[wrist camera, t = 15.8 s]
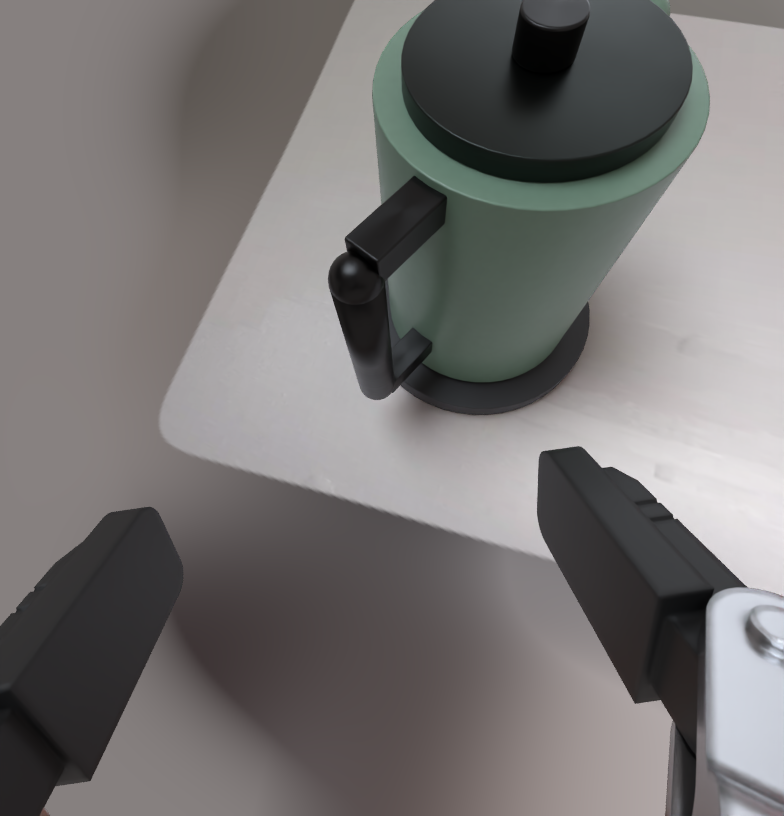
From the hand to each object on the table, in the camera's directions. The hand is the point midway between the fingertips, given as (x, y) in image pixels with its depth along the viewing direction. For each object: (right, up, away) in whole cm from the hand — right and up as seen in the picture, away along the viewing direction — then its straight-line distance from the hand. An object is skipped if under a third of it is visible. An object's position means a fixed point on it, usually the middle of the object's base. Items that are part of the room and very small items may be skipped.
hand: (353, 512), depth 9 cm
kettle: (+6, +9, +17) cm, 20 cm away
